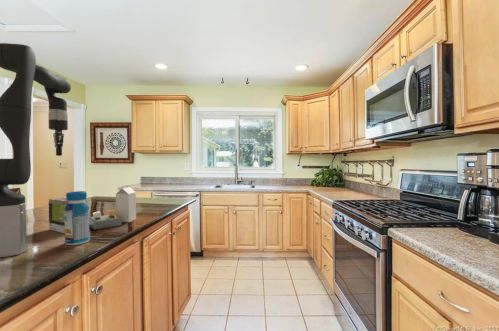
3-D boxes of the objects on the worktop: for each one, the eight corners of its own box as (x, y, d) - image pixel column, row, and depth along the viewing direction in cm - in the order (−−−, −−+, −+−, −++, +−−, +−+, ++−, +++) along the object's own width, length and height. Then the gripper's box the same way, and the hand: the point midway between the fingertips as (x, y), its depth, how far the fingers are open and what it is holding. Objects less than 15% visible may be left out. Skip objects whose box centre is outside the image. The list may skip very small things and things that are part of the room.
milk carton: (136, 219, 144) (135, 184, 144) (129, 222, 137) (128, 186, 137) (124, 219, 145) (123, 184, 145) (116, 222, 138) (115, 186, 138)
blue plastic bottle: (84, 244, 101) (83, 193, 101) (60, 246, 99) (59, 193, 99) (93, 238, 109) (92, 190, 109) (70, 239, 108) (69, 191, 107)
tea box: (87, 229, 125) (86, 198, 125) (63, 234, 116) (62, 201, 116) (71, 225, 133) (71, 196, 133) (48, 229, 124) (47, 198, 124)
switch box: (121, 225, 131) (121, 216, 131) (94, 229, 123) (93, 220, 123) (113, 220, 142) (113, 212, 141) (87, 224, 134) (87, 216, 133)
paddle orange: (115, 215, 134) (115, 211, 134) (108, 215, 132) (109, 211, 132) (113, 214, 137) (113, 210, 137) (107, 214, 135) (107, 210, 135)
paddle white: (101, 216, 130) (100, 212, 130) (94, 217, 128) (94, 213, 128) (99, 215, 132) (99, 211, 132) (93, 216, 131) (92, 212, 130)
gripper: (47, 120, 130) (48, 155, 130) (49, 117, 120) (50, 155, 120) (65, 122, 135) (66, 155, 135) (69, 118, 125) (70, 155, 125)
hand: (59, 155), depth 128 cm, fingers closed
